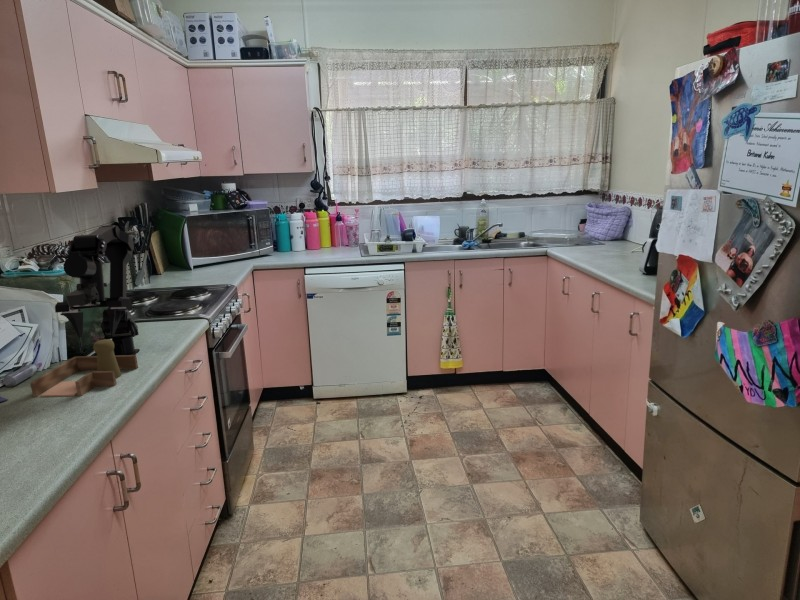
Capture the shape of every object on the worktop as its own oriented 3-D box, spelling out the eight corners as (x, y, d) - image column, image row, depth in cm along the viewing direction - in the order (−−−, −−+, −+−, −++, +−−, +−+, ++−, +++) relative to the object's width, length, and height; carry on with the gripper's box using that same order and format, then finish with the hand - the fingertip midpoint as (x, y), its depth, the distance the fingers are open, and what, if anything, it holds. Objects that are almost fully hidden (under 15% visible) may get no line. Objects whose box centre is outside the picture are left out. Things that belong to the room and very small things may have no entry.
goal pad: (62, 382, 147) (62, 381, 147) (94, 381, 147) (93, 380, 147) (40, 396, 138) (40, 395, 138) (74, 395, 138) (73, 394, 138)
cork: (125, 372, 153) (118, 336, 150) (115, 380, 147) (108, 343, 144) (104, 373, 153) (97, 337, 150) (93, 381, 147) (86, 344, 144)
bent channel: (77, 369, 157) (74, 356, 156) (138, 367, 156) (136, 355, 155) (33, 396, 138) (30, 382, 137) (102, 395, 138) (99, 381, 137)
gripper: (37, 281, 138) (42, 340, 138) (107, 275, 137) (111, 335, 137) (66, 283, 149) (71, 337, 149) (130, 277, 148) (135, 332, 148)
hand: (96, 335), depth 145 cm, fingers open, 9 cm apart
